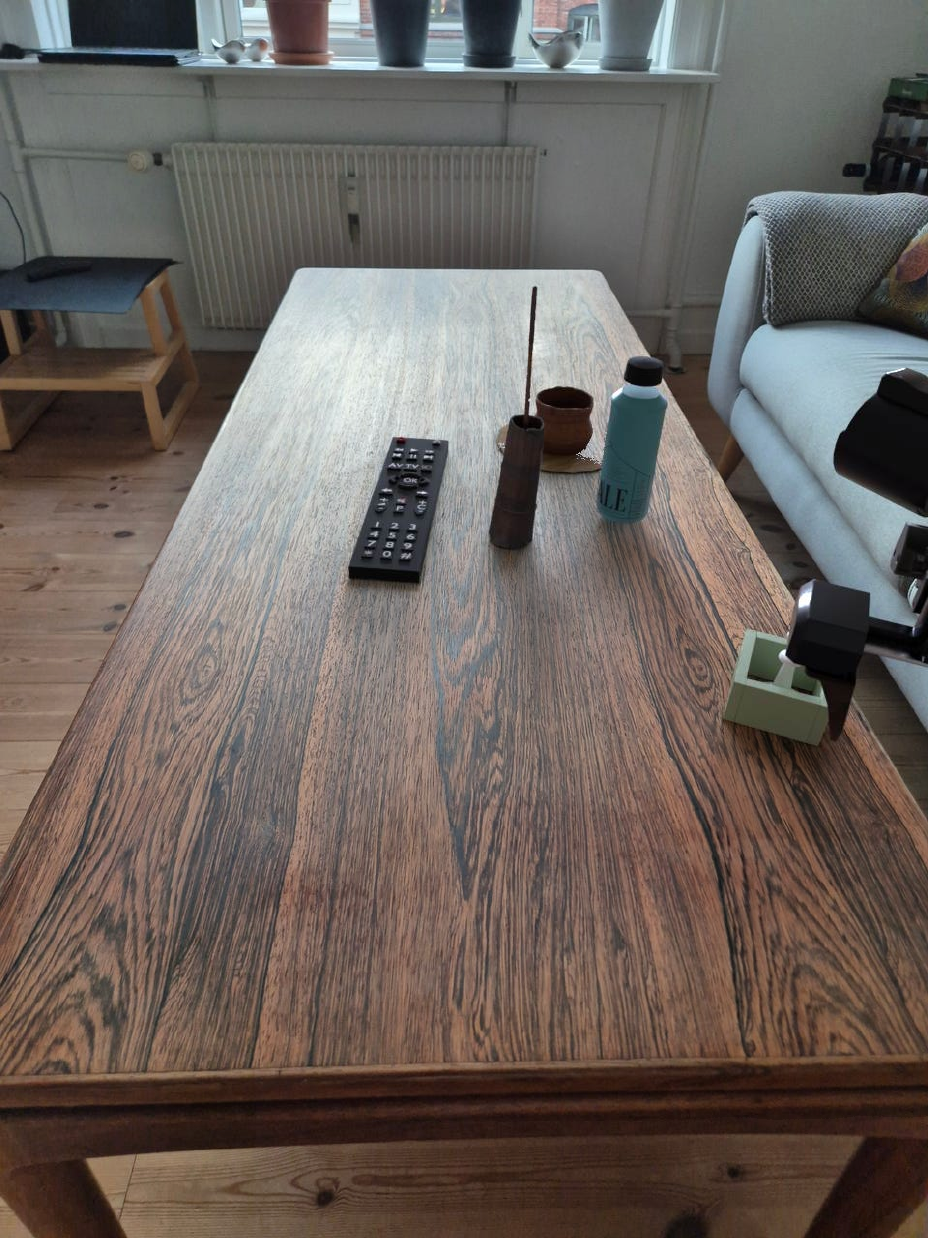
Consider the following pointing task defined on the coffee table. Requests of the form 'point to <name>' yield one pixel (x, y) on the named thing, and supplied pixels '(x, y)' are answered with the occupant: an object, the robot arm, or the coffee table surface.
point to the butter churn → (519, 469)
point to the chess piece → (785, 672)
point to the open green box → (774, 693)
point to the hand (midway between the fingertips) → (907, 758)
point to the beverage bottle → (632, 443)
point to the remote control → (401, 512)
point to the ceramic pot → (563, 429)
